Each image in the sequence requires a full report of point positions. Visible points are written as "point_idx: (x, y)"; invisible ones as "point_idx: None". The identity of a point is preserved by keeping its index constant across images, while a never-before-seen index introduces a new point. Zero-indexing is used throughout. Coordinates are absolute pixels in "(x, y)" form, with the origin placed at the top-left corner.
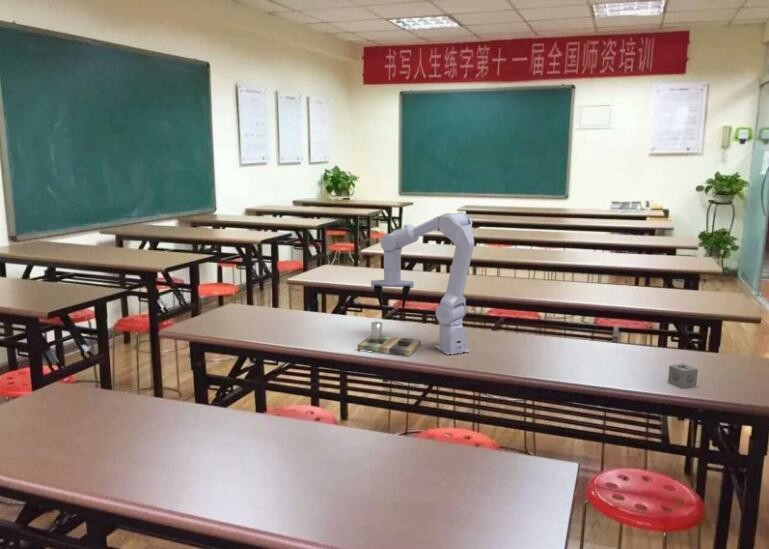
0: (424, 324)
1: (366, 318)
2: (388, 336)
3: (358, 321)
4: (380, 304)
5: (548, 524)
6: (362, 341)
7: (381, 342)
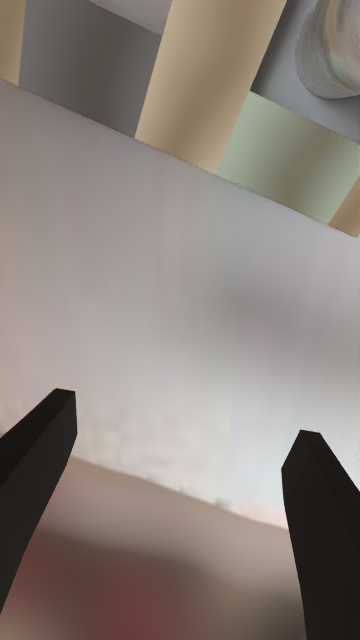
0: None
1: None
2: (234, 178)
3: None
4: (329, 463)
5: None
6: None
7: (318, 2)
